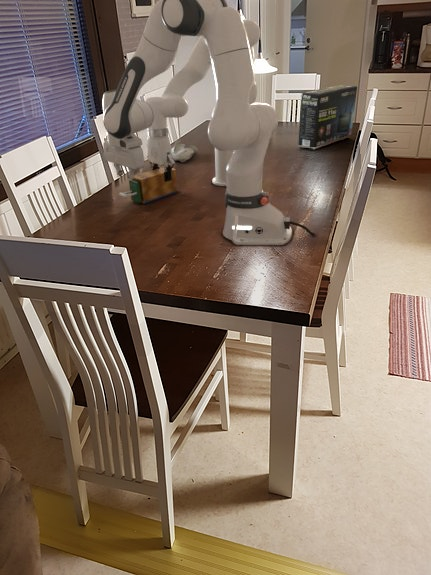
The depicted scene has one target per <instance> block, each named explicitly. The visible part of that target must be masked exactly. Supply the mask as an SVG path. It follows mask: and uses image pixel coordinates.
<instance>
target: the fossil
mask: <svg viewBox="0 0 431 575" xmlns="http://www.w3.org/2000/svg"><path fill="white" fill-rule="evenodd" d="M171 151H172V159H173V160H174V162H177V161H179V162H180V163H185V162H187V161H188V160H190V159H191V158H192V157H193V156H194V155H197V154H198V153H199V150H198V148H197V146H195V145H188V146H187V145H186V143H184V142H183V143H181V142H176V143H175V145H174V146H173V147H171Z"/></svg>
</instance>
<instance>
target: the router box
mask: <svg viewBox="0 0 431 575" xmlns="http://www.w3.org/2000/svg"><path fill="white" fill-rule="evenodd" d="M357 93H358V86H356V85H350V84H339V85H338V84H337V85H334V86H328V87H324V88H318V89H314V90H309V91H304V92H301V93H300V109H299V110H300V111H299V124H298V137H297V146H298V145H302V146H307V147H317V146H320V145H323V144H325V143H328V142H331V141H333V140H336V139H338V138H341V137H344V136H347V135H351V136H352V133H353V132H352V131H353V125H354V115H355V109H356V99H357ZM311 151H313V150H312V149H311Z"/></svg>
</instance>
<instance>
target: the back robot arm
mask: <svg viewBox="0 0 431 575" xmlns="http://www.w3.org/2000/svg"><path fill="white" fill-rule="evenodd" d="M242 21H243V24H244V27H245V31H246V34H247V38H248V43H249V49H250V53H251V59H252V64H253V66H254V64H255V50H254V46H255V45H256V44H257V43H258V42H259V40H260V37H261V28H260V26H259V24H258V23H257V22H256V21H254V20H251V19H242ZM211 68H212V64H211V58H210V54H209V48H208V45H207V42H206V40H205V39H204V37H202V36H198V39H197V41H196V42H195V44H194V47H193V48H192V50H191V52H190V54H189V55H188V57H187V59H186V60H185V63H184V64H183V65H182V66H181V67H180V69H179V70H178V71H177V72H176V73H175V74H174V76H172V78H171V79H170V81H169V82H168V84H167V85H166V87H165V88H164V90H163V93H162V94H161V96H150V97H147V98H146V99H145V100H144V101H145V102H147V103H148V104H149V105H150V107H151V108H152V111H153V116H154V118H153V123H152V125H151V126H150V127H149V128H147V138H146V151H147V152H146V153H147V156H146V158H147V161H148V162H149V164H150V168H151V169H152V170H155V169H158V168H160V166H162V167H164V170H165V172H164V179H165V182H167V181H170V180H172V176H171V170H172V168H174V166H175V165H176V161H174V160H173V159H172V151H171V149H172V145H171V140H170V137H169V128H168V118H182V117H185V116H186V114H187V113H188V111H189V103H188V101H187V99H185V98H184V95H186V92H187V91H188V90H189V89H190V88H191V87H193V86H194V85H195V84H197V83H199V82H201V81H202V80H203V79H204V78H205V77H206V76H207V73H208V72H209V70H210V69H211ZM257 96H258V86H257V83H256V81H255V80H254V83H253V85H252V86H251V88H250V92H249V104H253V103H256V100H257ZM214 110H215V106H214V107H213V109H212V111H211V118H212V117H213V114H214ZM233 153H234V151H220V150H217V149H216V148H215V147H214V166H215V167H214V168H215V170H214V171H215V176H214V177H213V178H212V179H211V183H212V184H213V185H215V186H218V187H227V183H226V167H227V164H228V162H229V161H230V159H231V158H232V155H233ZM152 170H151V171H152Z"/></svg>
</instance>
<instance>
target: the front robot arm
mask: <svg viewBox="0 0 431 575" xmlns="http://www.w3.org/2000/svg"><path fill="white" fill-rule="evenodd" d="M242 20H243V19H242V17H241V14H240V12H239V11H238V10H237V9H236V8H234V7H230V6H229V5H228V3H227V1H226V0H157V1H156V2H155V4H154V6H153V7H152V9H151V11H150V13H149V15H148V18H147V20H146V23H145V26H144V29H143V32H142V35H141V38H140V40H139V43H138V46H137V48H136V50H135V52H134V54H133V55H132V57H131V59H130V60H129V62H127V65H126V67H125V69H124V71H123V74H122V76H121V78H120V80H119V83H118V85H117V88H116V89H113V90H107V91H105V92H104V93H103V95H102V110H103V116H102V117H103V118H102V121H103V127H104V129H105V130H106V135H105V136H104V138H103V147H102V148H103V157H104V158H103V159H104V160H105V161H106V162H108V163H111V164H113V167H114V169H115V171H116V175H117V176H124V170H123V169H122V167H126V168H128V173H127V178H128V180H132V179H134V176H135V173H136V171H138V170H141V169H143V168H144V166H145V157H144V156H145V155H144V150H143V148H142V146H143V140H142V138H140V137H139V136H138V135H137V134H136V133H140V132H142V131H145V130H148V128H149V127H150V126H151V125H152V123H153V118H154V116H153V111H152V108H151V107H150V105H149V104H148V103H147V102H145V100H141V99H138V95H139V93H140V91H141V89H142V88H143V87H144V85H145V84H147V83H148V82H149V81H150V80H152V79H154V78H156V77H157V76H159V75H161V74H164V73H165V72H166V71H168V70H169V69H170V68H171V66H172V64H173V62H174V61H175V59H176V57H177V54H178V51H179V48H180V46H181V42H182V40H183V37H200V36H202V37H204V39H205V40H206V42H207V45H208V48H209V54H210V58H211V64H212V65H211V68H212V74H213V79H214V84H215V85H214V86H215V104H214V107H215V110H214V114H213V117H212V116H211V119H210V121H209V122H208V126H207V138H208V140H209V143H210V145H212V146H213V148H214V149H215V148H216V149H217V150H220V151H234V153H233V155H232V158H231V159H230V161H229V162H228V164H227V167H226V183H227V186H226V190H225V194H224V205H225V209H226V210H225V218H224V219H225V220H224V226H223V229H222V235H223V237H225V239H228V240H230V241H232V243H233V244H234V245H236V246H283V245H286V244H288V243H289V242H290V240H291V239H292V237H293V228H292V227H291V225H292V226H297V227H299V228H301V229H303V230H305V231H306V233H308V234H309V235H311V236H316V235H315V232H312V231H311V230H310V229H309V227H306V226H305V225H303V224H301V223H298V222H295V221H291V216H285V215H284V213H283V212H282V211H280V210H279V209H278V208H277V207H276V206H275V205H272V204H271V203H270V202H269V194H270V192H269V191H267V192H266V191H265V190H263V175H264V174H263V173H264V164H265V159H266V155H267V151H268V148H269V145H270V142H271V140H272V137H273V135H274V134H275V132H276V131H277V129H278V127H279V116H278V112H277V111H276V110H275V108H274V107H273V106H272V105H271V104H268V103H262V102H255V103H253V104H249V92H250V88H251V86H252V85H253V83H254V81H255V80H256V79H255V78H256V77H255V70H254V65H253V64H252V59H251V53H250V49H249V43H248V38H247V34H246V31H245V27H244V24H243V21H242ZM121 166H122V167H121Z"/></svg>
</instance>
